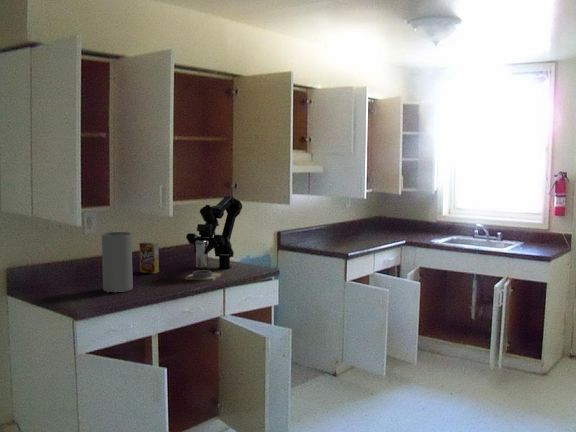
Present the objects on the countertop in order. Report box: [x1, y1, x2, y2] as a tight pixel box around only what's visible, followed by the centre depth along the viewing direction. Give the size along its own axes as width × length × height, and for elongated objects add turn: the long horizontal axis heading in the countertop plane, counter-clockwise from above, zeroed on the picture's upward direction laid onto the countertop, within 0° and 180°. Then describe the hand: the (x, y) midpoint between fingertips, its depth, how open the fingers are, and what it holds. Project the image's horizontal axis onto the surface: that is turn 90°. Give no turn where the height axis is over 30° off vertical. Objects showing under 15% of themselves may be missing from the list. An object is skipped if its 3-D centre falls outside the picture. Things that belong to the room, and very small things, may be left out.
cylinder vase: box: [101, 231, 134, 294], centre depth 256 cm, size 12×12×25 cm
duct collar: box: [192, 269, 213, 278], centre depth 283 cm, size 9×9×2 cm
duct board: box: [184, 272, 223, 282], centre depth 286 cm, size 14×14×1 cm
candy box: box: [139, 241, 160, 274], centre depth 296 cm, size 9×4×15 cm, turn 69°
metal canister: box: [195, 240, 208, 268], centre depth 282 cm, size 6×6×12 cm
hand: (200, 253), depth 281 cm, fingers closed on metal canister, 5 cm apart
